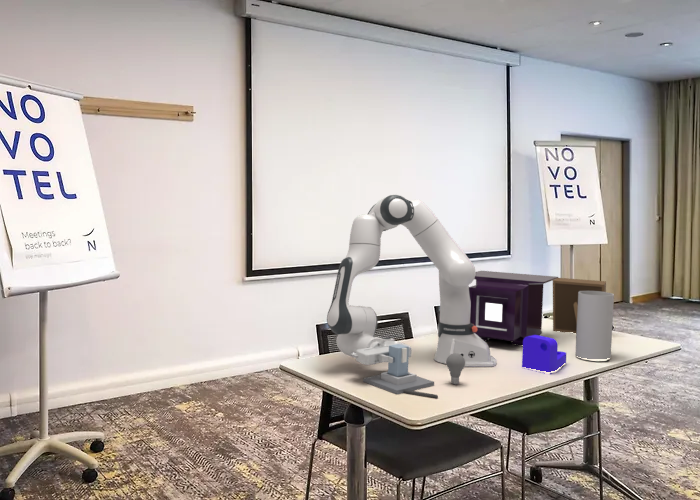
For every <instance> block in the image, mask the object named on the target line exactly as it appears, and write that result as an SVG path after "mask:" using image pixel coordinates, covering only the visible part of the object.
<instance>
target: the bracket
mask: <svg viewBox="0 0 700 500" xmlns="http://www.w3.org/2000/svg"><path fill="white" fill-rule="evenodd" d="M558 348H559V347H558V342H557V340H556V339H555V338H553V337H549V336H548V337H547V336H544V335H540V336H539V335H532V336H527V337H525V338H524V339H523V346H522V355H521V358H522V359H521V368H522V367H526V368H531V369H536V370H540V371H546V372H551V371H555V370H557V369H558V368H559V367H561V366H562V365H563V364H564V363H566V364H567V352H565V351H561V350H560V351H558V350H559V349H558Z"/></svg>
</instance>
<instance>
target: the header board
mask: <svg viewBox="0 0 700 500" xmlns="http://www.w3.org/2000/svg"><path fill="white" fill-rule="evenodd" d="M363 383H366V384H368V385H371V386H374V387H377V388H379V389H381V390H385V391H387V392H389V393H392V394H395V395H400V394H405V393H404V392H403V391H404V390H411V391H413V390H414V391H417V389H418V390H420V389H421V388H422V389H425V388H429V387H434V386H435V381H433V380H430V379H427V378H423V377H421V376H418V375H417V374H416V373H412V372H409V371H408V375H403V376H398V377H397V376H394V375H391V374H389V373H388V371H384V372H381V373H380V374H377V375H371V376H368V377H367V376H366V377H363ZM422 389H421V390H422Z"/></svg>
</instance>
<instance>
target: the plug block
mask: <svg viewBox="0 0 700 500" xmlns="http://www.w3.org/2000/svg"><path fill="white" fill-rule="evenodd" d="M389 356H393V357H395V362H394V363H389V362H387V363H388V364H387V365H388V366H387V368H388V369H387V372H388V373H389V374H391V375H394V376H397V377H398V376H403V375H408V372H409V359H408V358H410V357H409V347H408V346H405V345H401V344H396V345H390V346H389Z"/></svg>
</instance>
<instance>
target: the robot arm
mask: <svg viewBox="0 0 700 500" xmlns="http://www.w3.org/2000/svg"><path fill="white" fill-rule="evenodd" d="M400 225H401V226H404V227H405V228H406V229H407V230H408V231H409V233H410V234H411V236H412V237H413V239H415V241H416V243H417V244H418V246H420V248H421V249H422V251H423V252H424V253H425V254H426V256H427V257H428V259H430V261H431V262H432V264H433V265H434V266H435V267H436V268H437V270H438V285H439V321H438V322H437V323H438V324H437V337H438V341H437V347H436V350H435V354H434V357H433V359H434V361H435V362H438V363H441V364H446V360H447V358H448V356H449V355H450V354H453V353H458V354H461V355H462V356H463V358H464V359H465V366H464V368H466V367H467V368H469V367H475V368H476V367H494V366H496V365H497V359H496V357H495V356H492V355H491V349H490V347H489V344H488V342H487V341H484V340H482V339H481V338H480V337H479V336H478V335H476V334H475V332H477V330H478V329H477V327H476V326H475V325H474V324H472V323H470V307H471V301H470V295H469V287H470V286H469V285H471V284H472V283H473V282H474V280H475V279H474V278H475V274H476V272H477V271H476V268H475V266H474V264H473V262H472V261H471V259H470V258H469V257H468V256H467V254H466V253H465V252H464V250H463V249H462V248H461V247H460V246H459V244H458V243H457V242H456V241H455V240H454V238H453V237H452V236H451V235H450V234H449V231H447V229H446V228H445V226H444V224H442V222H441V221H440V219H439V218H438V217H437V216H436V215H435V213H434V212H433V210H432V209H430V208H429V206H428V205H427V204H426V203H425V202H423V201H422V200H420V199H412V200H408V199H406V198H405V197H404V196H402V195H399V194H390V195H388V196H386V197H384V198H383V197H382V198H381V199H379V200H378V201H377V202H376V203H374V204H373V205H372V207H371V208H370V209H369V211H368V213H365V214H360V215H357V216H356V217H355V218H354V219H353V221H352V224H351V229H350V234H349V240H348V241H349V243H348V250H347V254H346V256H345V257H344V258H343V259H342V260H341V262H340V264H339V267H338V270H337V275H336V278H335V279H336V280H335V285H334V290H333V295H332V298H331V299H332V300H331V303H330V305H329V309H328V312H327V315H326V316H327V317H326V324H327V326H328V328H329V329H330V331H331V332H332V333H333V334H334V335H336V336H337V337H336V341H335V343H336V345H337V348H338V350H339V351H340V352H341V353H342V354H344V355H346V356H349V357H351V358H352V359H353V358H354V359H355V361H356V362H358V363H360V364H361V365H364V366H365V365H366V366H370V365H376V364H381V363H382V364H383V363H388V362H389V363H394V362H395V357H393V356H389V346H390V345H396V344H401V345H405V346H408V347H409V358H411V357H412V350H413V349H412V346H410V344H407V343H403V342H401V341H397V340H395V338H391V337H378V336H375V335H376V333H377V332H376V331H377V330H378V329H377V328H378V323H379V322H378V316H377V313H376V312H375V310H374V309H373V308H372V307H371V306H363V305H362V306H361V305H350V304H349V301H350V295H351V291H352V284H353V281H354V279H355V278H356V277H357V276H359V275H360V274H362V273H365V272H366V273H367V272H368V271H370V270H372V269H374V268H375V267H376V266H377V264H378V263H379V261H380V258H381V245H382V244H381V240H382V239H381V238H382V234H383V232H386V231H388V230H392V229H395V228H397V227H398V226H400ZM409 358H408V360H410V359H409ZM446 365H447V364H446Z"/></svg>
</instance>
